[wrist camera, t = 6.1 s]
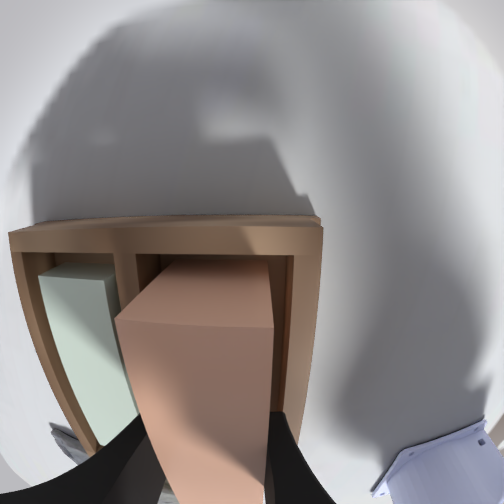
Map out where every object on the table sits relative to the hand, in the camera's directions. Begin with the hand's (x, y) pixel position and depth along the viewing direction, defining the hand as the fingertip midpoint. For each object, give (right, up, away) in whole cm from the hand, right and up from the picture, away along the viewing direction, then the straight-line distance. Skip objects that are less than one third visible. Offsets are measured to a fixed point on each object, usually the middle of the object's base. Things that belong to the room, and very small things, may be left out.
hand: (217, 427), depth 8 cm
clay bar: (0, +1, +3) cm, 3 cm away
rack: (-3, +1, +4) cm, 5 cm away
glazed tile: (-5, +1, +3) cm, 6 cm away
